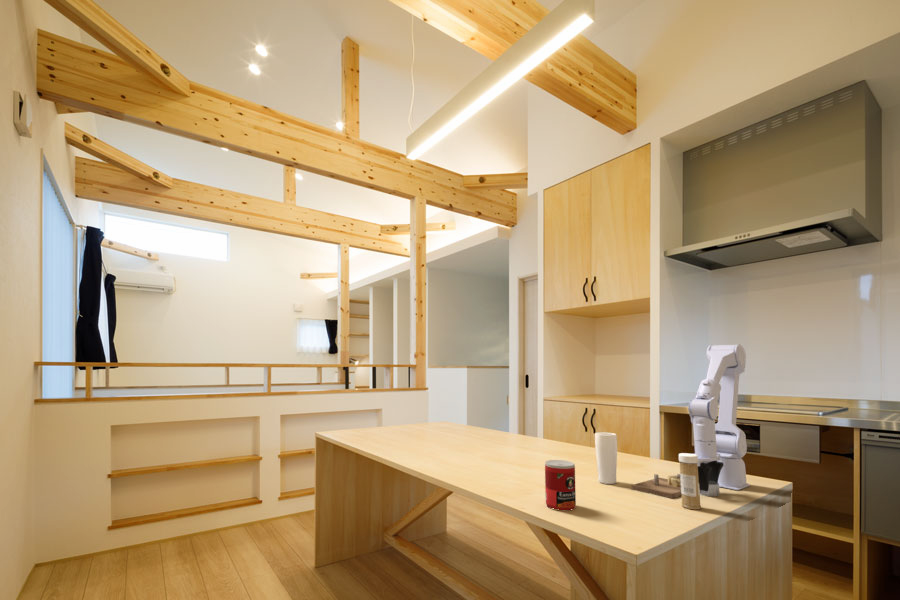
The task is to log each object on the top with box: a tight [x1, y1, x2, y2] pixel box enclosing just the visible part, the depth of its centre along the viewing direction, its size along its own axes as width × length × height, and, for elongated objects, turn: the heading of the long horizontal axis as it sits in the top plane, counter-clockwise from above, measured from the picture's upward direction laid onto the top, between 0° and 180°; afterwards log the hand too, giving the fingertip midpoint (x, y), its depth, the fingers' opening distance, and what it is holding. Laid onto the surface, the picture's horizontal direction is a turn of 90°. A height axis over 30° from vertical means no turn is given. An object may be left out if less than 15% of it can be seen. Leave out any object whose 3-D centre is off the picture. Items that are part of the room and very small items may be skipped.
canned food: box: [544, 459, 577, 511], centre depth 121 cm, size 8×8×11 cm
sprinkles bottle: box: [678, 452, 702, 510], centre depth 121 cm, size 5×5×13 cm
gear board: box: [631, 473, 682, 499], centre depth 138 cm, size 16×12×4 cm
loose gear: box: [700, 481, 721, 497], centre depth 134 cm, size 5×5×3 cm
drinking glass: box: [594, 431, 618, 485], centre depth 146 cm, size 7×7×15 cm
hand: (708, 488), depth 134 cm, fingers closed on loose gear, 5 cm apart
